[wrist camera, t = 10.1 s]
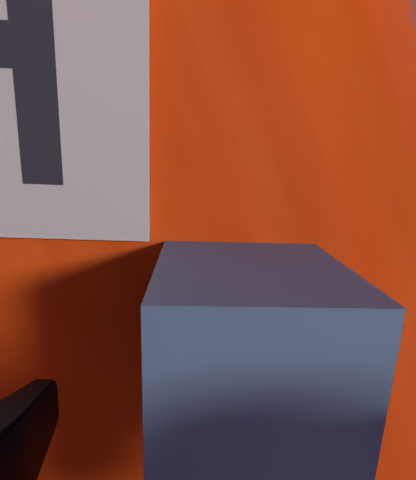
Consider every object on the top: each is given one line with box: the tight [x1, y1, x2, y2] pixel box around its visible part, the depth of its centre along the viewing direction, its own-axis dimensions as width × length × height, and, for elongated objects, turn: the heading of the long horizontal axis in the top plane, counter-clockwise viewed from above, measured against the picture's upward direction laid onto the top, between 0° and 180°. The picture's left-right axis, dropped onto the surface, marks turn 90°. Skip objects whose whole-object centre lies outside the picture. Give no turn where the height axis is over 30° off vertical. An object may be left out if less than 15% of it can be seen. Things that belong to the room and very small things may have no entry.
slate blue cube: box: [141, 241, 406, 480], centre depth 9 cm, size 5×5×5 cm
